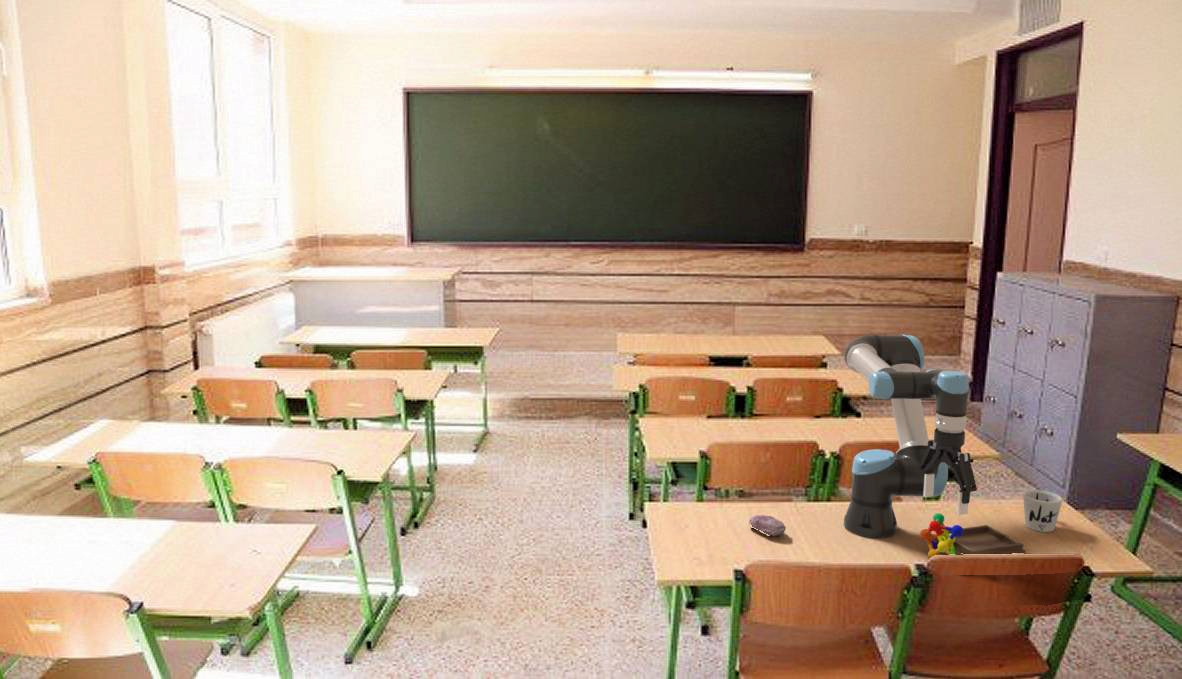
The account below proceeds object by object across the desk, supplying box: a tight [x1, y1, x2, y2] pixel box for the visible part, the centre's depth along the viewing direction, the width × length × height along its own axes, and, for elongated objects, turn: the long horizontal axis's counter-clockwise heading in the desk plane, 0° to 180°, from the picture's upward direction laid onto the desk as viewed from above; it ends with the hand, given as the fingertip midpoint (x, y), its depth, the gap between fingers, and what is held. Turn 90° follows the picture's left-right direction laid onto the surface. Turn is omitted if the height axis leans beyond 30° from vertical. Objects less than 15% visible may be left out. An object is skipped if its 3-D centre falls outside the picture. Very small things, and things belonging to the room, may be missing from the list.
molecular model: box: [919, 512, 964, 559], centre depth 226 cm, size 12×7×12 cm, turn 9°
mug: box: [1022, 489, 1063, 533], centre depth 249 cm, size 10×15×10 cm
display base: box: [934, 524, 1026, 554], centre depth 235 cm, size 16×17×2 cm
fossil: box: [748, 514, 787, 537], centre depth 246 cm, size 8×14×5 cm, turn 27°
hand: (944, 505), depth 224 cm, fingers open, 13 cm apart
